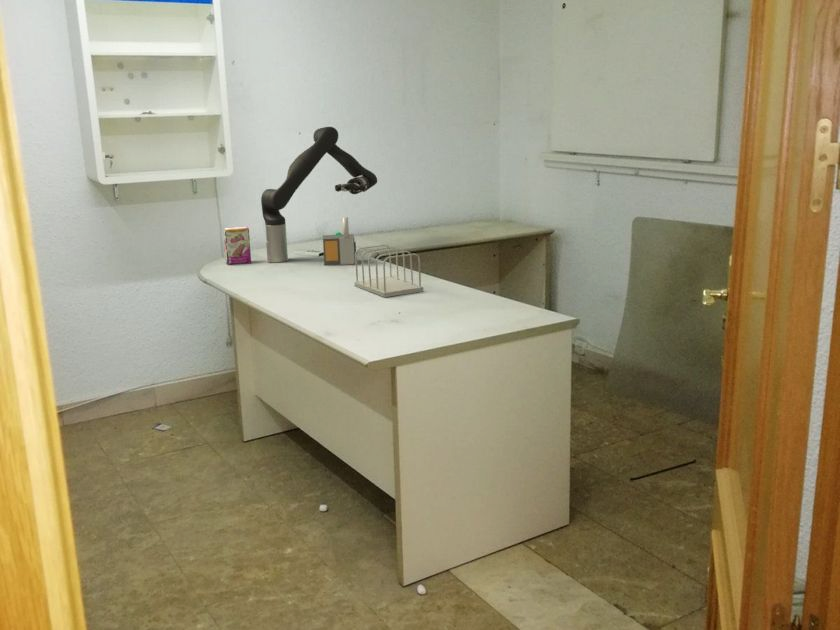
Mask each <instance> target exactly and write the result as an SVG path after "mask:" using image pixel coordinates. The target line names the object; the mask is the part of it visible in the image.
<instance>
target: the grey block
mask: <svg viewBox="0 0 840 630" xmlns="http://www.w3.org/2000/svg"><path fill="white" fill-rule="evenodd" d="M349 237H354V238H355V235H354V233H349ZM339 238H344V234H342V235H334V234H327V235H322V242H323V243H322V246H323V261H324V266H337V265H339V266H340V265H341V264H340V244H339ZM356 245H357V244H356V241H354V259H355V252H356V250H357V246H356Z"/></svg>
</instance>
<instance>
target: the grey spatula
mask: <svg viewBox="0 0 840 630" xmlns="http://www.w3.org/2000/svg"><path fill="white" fill-rule="evenodd" d="M342 228H343V229H342V230H343V233H342V235H344V238H339V244H340V264H343V265H356V263H355V259H354V242H355V236H354V237H349V234H350V232H349V231H350V230H349V228H350V227H349V217H346V216H345V217H344V216H343V217H342Z"/></svg>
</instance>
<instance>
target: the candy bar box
mask: <svg viewBox="0 0 840 630" xmlns="http://www.w3.org/2000/svg"><path fill="white" fill-rule="evenodd" d="M222 232H223V242H224V244H223V245H224V254H225V255H224V256H225V257H224V258H225V264H226V265H228V266H230V265H240V263H241V264H249V263H250V264H251V263H252V255H251V239H250V228H249V227H248V226H239V227H226V228H225V227H224V228H223V231H222Z"/></svg>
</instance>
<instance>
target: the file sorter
mask: <svg viewBox="0 0 840 630" xmlns="http://www.w3.org/2000/svg"><path fill="white" fill-rule="evenodd" d="M373 248H374V249H373ZM363 249H366V250H365V251H363V252H362V254H361V273H362V280H359V273H358V257H357V255H358V252H359V251H360V250H363ZM368 252H369V253H370V252H371V253H370V254H369V255H368V258H367V263H368V265H367V267H368V279H365V270H364V269H365V267H364V256H365V254H366V253H368ZM382 253H383V254H382ZM405 253H407V254H405ZM377 254H379V255H378V256H377V257H376V259H375V274H376V275H375V276H376V277H375V278H374V279H372V276H371V263H370V262H371V260H370V259H371V257H372V256H373V255H377ZM398 254H400V255H398ZM385 256H386V257H385ZM413 256H416V257H417V259H418V285H417V284H415V283H414V277H413V273H414V272H413V258H412V257H413ZM381 257H385V258H384V260H383V263H382V264H383V266H382V269H383V277H381V278H380V277H379V272H378V260H379V259H380V258H381ZM405 257H409V260H410V262H409V263H410V277H411V278H410V280H411V282H409V281H407V280H406V277H407V276H406V263H405V261H406V259H405ZM420 257H421V256H419V254H417V253H411V252H410V251H408V250H403V249H401V248H396V247H393V246H389V245H388V244H379V245H378V244H377V245H372V246H371V245H370V246H363V247H359V248H356V252H355V277H356V280H355V281H354V283H353V284H354V287H357V288H360V289H363V290H365V291H368V292H370V293H371V294H372V293H373V294H374V295H378V296H381V297H383V298H387V297H388V298H389V297H393V296H400V295H401V296H402V295H407V294H408V295H409V294H413V293H414V294H416V293H421V292H424V286H422V280H421V279H422V278H421V277H422V276H421V275H422V274H421V272H422V271H421V258H420ZM394 258H395V261H396V263H395V264H396V277H394V276H392V275H393V273H392V259H394ZM398 258H402V263H403V279H399V259H398ZM388 259H389V276H387V277H386V262H387V260H388Z"/></svg>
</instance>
